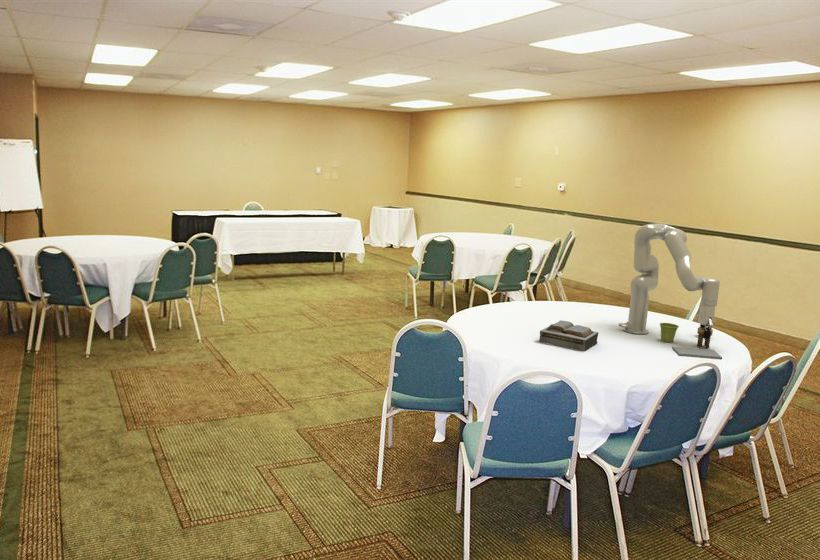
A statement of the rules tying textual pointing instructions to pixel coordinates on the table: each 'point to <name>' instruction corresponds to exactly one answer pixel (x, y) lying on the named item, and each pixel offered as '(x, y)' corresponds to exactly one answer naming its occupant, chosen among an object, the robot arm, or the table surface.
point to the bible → (569, 336)
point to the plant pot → (668, 331)
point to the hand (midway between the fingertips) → (704, 336)
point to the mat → (696, 352)
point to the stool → (700, 338)
